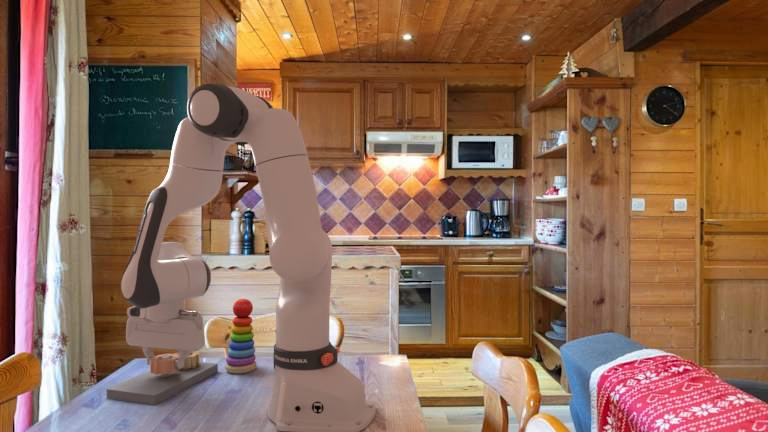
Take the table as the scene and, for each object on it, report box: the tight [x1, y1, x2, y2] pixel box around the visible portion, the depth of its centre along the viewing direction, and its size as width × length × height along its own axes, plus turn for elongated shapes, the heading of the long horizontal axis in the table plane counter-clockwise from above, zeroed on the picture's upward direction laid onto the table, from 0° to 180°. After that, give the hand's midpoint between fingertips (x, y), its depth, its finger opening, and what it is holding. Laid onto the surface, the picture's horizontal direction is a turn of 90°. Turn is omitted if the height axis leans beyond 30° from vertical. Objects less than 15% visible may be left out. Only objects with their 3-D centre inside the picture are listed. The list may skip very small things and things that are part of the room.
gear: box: [174, 350, 201, 370], centre depth 119 cm, size 7×7×4 cm
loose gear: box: [149, 353, 180, 375], centre depth 111 cm, size 7×7×3 cm
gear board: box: [106, 351, 219, 406], centre depth 112 cm, size 13×22×6 cm, turn 164°
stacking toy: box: [224, 298, 258, 375], centre depth 122 cm, size 8×8×19 cm
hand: (165, 366), depth 111 cm, fingers closed on loose gear, 6 cm apart
